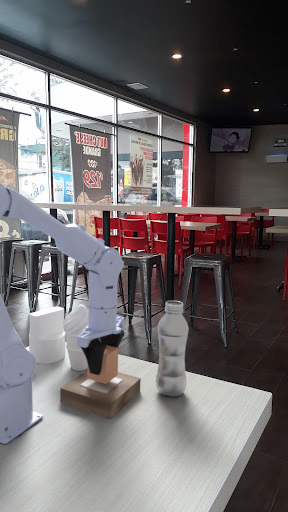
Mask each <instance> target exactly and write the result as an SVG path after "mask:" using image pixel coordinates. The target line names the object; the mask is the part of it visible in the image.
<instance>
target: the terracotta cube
mask: <svg viewBox="0 0 288 512" xmlns="http://www.w3.org/2000/svg"><path fill="white" fill-rule="evenodd" d="M118 369H119V347H118V348H116V347H112V346H108V345H107V346H106V349H105V351H104V354H103V359H102V368H101V372H100V374H99V375H96V374H92V373H90V370H89V366H88V369H87V370H88V374H87V378H88V379H91V380H94V381H98V382H101V383H104V384H107V383H108V382H109V381H111V380H112V379H113V378H114V377H116V376H117V375H118V372H119V370H118Z"/></svg>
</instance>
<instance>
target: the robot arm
mask: <svg viewBox="0 0 288 512" xmlns="http://www.w3.org/2000/svg"><path fill="white" fill-rule="evenodd" d="M1 217H3V218H4V217H5V218H8V219H19V220H20V221H23V222H24V223H26V224H28V225H29V226H31V227H33V228H34V229H36V230H37V231H39V232H42V233H43V234H44V235H46V236H47V237H50V238H52V239H54V242H55V246H56V249H57V250H58V252H61V253H63V254H64V255H65V256H68V257H69V258H71V259H72V260H74V261H76V262H78V263H79V264H80V265H82V266H83V267H84V268H85V269H86V270H87V271H88V306H87V307H88V308H87V309H88V326H87V327H86V328H85V329H84V331H83V332H82V333H81V334H80V335H79V336H77V346H80V347H81V349H82V350H83V352H84V354H85V357H86V359H87V363H88V366H89V370H90V373H92V374H96V375H99V374H100V372H101V368H102V359H103V354H104V351H105V349H106V346H107V345H108V346H112V347H116V348H118V349H119V346H120V344H121V341H122V340H123V338H124V337H125V330H123V329H122V328H121V327H124V326H125V317H124V316H120V315H118V283H119V275H120V273H121V272H122V270H123V268H124V265H125V261H123V259H122V256H121V253H120V252H119V251H118V250H117V249H116V248H113V247H109V246H106V245H105V243H106V241H105V240H104V239H102V238H101V237H98V238H97V237H95V236H94V235H92V234H90V233H89V232H88V231H87V227H86V225H83V224H81V223H79V224H76V223H68V224H64V223H62V222H61V221H60V220H58V219H56V218H55V217H54V216H53V215H51V214H50V213H49V212H47V211H46V210H44V209H43V208H41V207H40V206H39V205H37V204H36V203H34V202H33V201H32V200H30V198H27V197H26V196H25V195H23V194H21V193H20V192H18V191H16V190H15V189H13V188H10V187H8V186H7V187H6V186H4V185H3V183H1V182H0V218H1ZM36 367H37V363H36V360H35V357H34V355H33V354H32V353H31V352H29V349H27V348H26V347H25V345H24V343H23V340H22V339H21V337H20V335H19V333H18V332H17V330H16V328H15V326H14V324H13V322H12V319H11V317H10V314H9V312H8V309H7V306H6V304H5V302H4V299H3V297H2V294H1V293H0V443H1V444H8V443H10V442H11V441H13V440H14V439H15V438H16V437H18V436H20V435H21V434H22V433H24V432H26V430H27V429H29V428H30V427H32V426H33V425H35V424H36V423H37V422H39V421H40V420H41V419H43V418H44V415H43V413H39V412H37V411H35V410H34V408H33V406H34V405H33V375H34V373H35V371H36Z"/></svg>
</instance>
